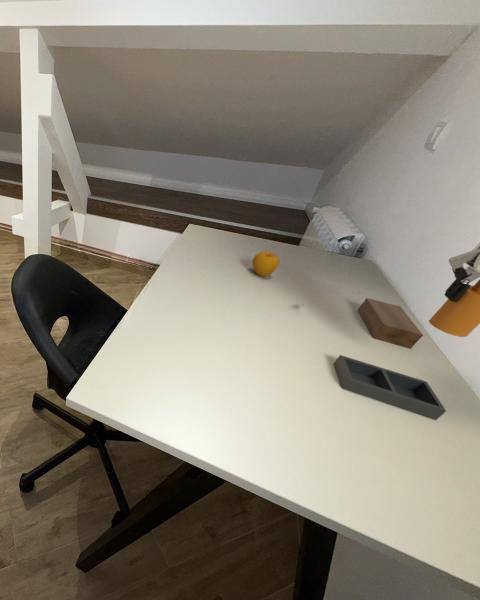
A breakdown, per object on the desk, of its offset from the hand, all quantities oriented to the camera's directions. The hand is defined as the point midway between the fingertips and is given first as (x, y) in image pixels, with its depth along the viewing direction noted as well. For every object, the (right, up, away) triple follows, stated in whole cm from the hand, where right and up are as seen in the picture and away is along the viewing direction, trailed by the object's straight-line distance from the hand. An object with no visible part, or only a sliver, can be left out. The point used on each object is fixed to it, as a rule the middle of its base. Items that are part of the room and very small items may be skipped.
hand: (471, 302), depth 63 cm
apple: (-10, +10, +56) cm, 57 cm away
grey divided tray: (-10, -21, +9) cm, 25 cm away
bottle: (-1, -5, +4) cm, 6 cm away
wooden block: (+13, -8, +32) cm, 35 cm away
